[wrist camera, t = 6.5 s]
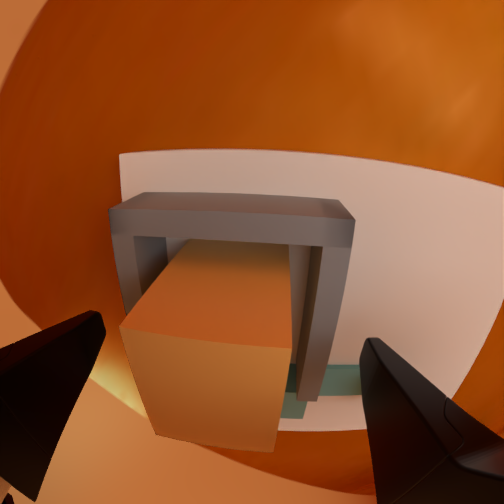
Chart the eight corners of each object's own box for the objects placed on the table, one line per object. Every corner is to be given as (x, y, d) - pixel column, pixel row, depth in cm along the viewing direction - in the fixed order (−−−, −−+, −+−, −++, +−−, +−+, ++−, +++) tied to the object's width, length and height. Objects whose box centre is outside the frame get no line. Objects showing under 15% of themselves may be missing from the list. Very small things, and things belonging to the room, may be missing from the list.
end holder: (313, 359, 12) (316, 401, 10) (163, 345, 13) (144, 381, 11) (338, 199, 9) (355, 220, 7) (143, 192, 10) (107, 209, 8)
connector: (268, 425, 15) (260, 507, 10) (207, 419, 15) (187, 496, 10) (288, 244, 10) (292, 348, 5) (190, 237, 11) (118, 326, 6)
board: (433, 408, 15) (437, 418, 14) (170, 403, 16) (166, 415, 15) (519, 191, 9) (531, 196, 8) (131, 152, 10) (119, 154, 10)
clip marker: (379, 389, 13) (386, 415, 11) (286, 390, 13) (285, 418, 12) (391, 363, 12) (400, 389, 10) (290, 363, 12) (290, 392, 11)
